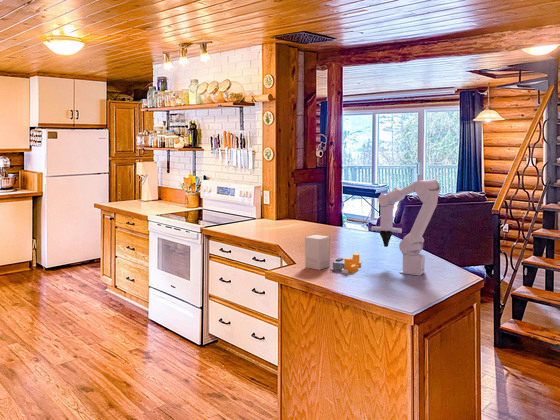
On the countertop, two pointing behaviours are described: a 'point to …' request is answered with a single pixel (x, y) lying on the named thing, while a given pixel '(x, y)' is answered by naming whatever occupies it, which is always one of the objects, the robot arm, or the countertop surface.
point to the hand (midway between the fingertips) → (386, 246)
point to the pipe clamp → (352, 263)
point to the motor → (341, 266)
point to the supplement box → (317, 252)
